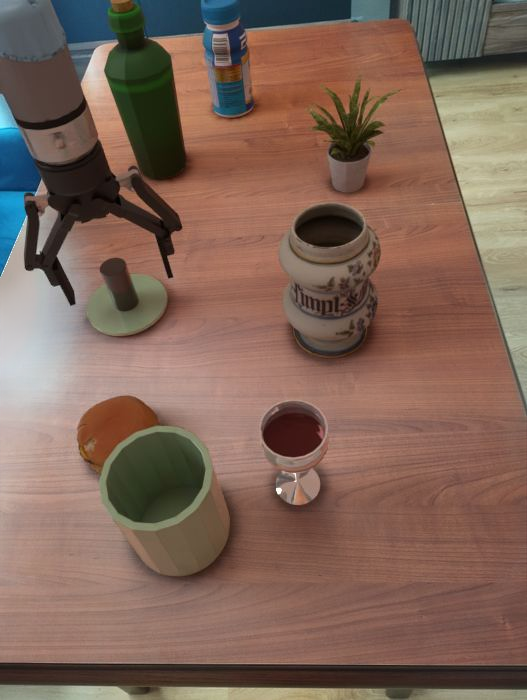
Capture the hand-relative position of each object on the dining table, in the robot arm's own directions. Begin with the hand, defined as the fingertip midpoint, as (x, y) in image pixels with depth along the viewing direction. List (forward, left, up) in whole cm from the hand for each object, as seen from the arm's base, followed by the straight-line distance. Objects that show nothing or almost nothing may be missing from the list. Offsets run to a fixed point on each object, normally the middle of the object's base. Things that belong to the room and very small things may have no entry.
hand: (121, 285), depth 80 cm
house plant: (+18, +40, -5) cm, 44 cm away
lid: (0, 0, -4) cm, 4 cm away
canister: (+25, -24, -5) cm, 35 cm away
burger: (+13, -19, -5) cm, 23 cm away
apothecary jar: (+28, +8, -5) cm, 29 cm away
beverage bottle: (-13, +53, -5) cm, 55 cm away
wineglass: (+34, -14, -5) cm, 37 cm away
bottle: (-15, +31, -5) cm, 35 cm away
